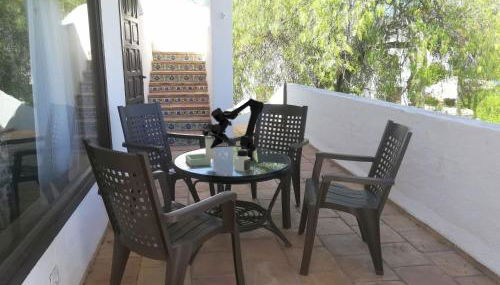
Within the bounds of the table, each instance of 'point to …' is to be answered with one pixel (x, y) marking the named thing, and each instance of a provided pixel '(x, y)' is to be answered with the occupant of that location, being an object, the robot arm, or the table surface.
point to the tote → (197, 160)
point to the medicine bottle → (242, 161)
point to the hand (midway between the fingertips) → (208, 147)
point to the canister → (209, 147)
